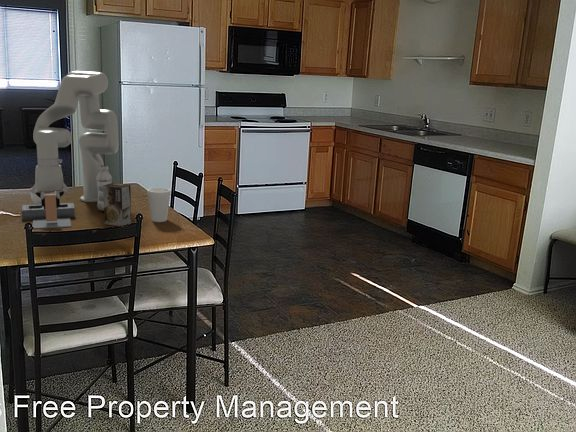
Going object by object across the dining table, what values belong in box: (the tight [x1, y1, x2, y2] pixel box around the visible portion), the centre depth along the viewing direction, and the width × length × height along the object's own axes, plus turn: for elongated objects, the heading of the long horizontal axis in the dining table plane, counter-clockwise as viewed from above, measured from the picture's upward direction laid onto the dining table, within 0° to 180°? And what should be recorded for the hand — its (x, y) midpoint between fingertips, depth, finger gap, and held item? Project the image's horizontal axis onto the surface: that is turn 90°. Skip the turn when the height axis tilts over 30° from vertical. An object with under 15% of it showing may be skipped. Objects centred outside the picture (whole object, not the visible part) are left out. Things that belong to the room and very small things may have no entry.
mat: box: [32, 217, 72, 230], centre depth 228 cm, size 14×12×1 cm
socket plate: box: [21, 202, 76, 221], centre depth 239 cm, size 20×9×4 cm, turn 112°
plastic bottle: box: [96, 164, 113, 212], centre depth 249 cm, size 6×7×20 cm
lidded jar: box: [29, 186, 56, 205], centre depth 254 cm, size 11×11×9 cm
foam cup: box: [146, 187, 172, 223], centre depth 240 cm, size 10×9×13 cm
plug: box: [45, 194, 58, 221], centre depth 226 cm, size 4×4×10 cm
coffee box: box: [103, 182, 132, 227], centre depth 231 cm, size 9×6×16 cm
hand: (50, 207), depth 227 cm, fingers closed on plug, 4 cm apart
